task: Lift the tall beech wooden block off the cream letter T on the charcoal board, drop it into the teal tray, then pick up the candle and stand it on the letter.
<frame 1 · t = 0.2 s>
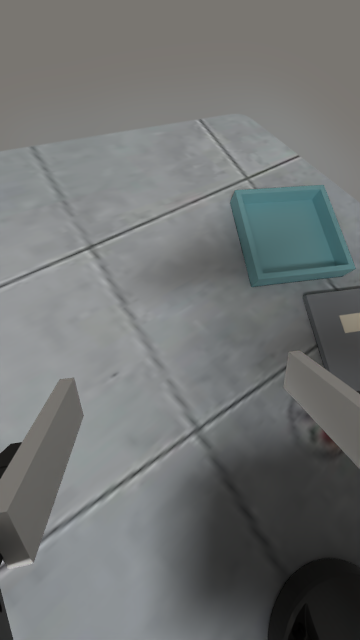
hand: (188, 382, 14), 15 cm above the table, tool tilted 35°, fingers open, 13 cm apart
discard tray: (284, 238, 36), on the table
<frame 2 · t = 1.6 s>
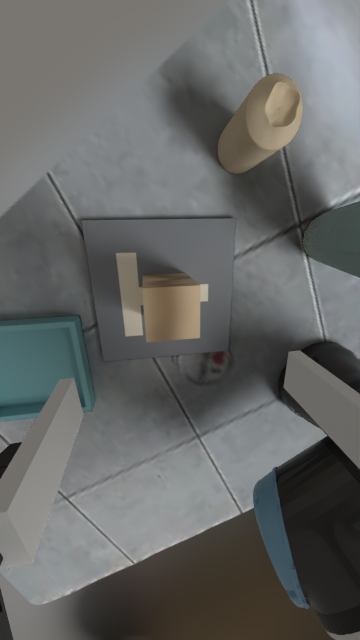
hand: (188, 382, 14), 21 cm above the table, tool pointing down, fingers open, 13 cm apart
wooden block: (165, 295, 32), point 1 cm above the table, touching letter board
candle: (237, 150, 28), on the table
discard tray: (36, 365, 34), on the table
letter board: (165, 293, 33), on the table
disposable coffee cup: (320, 239, 34), on the table
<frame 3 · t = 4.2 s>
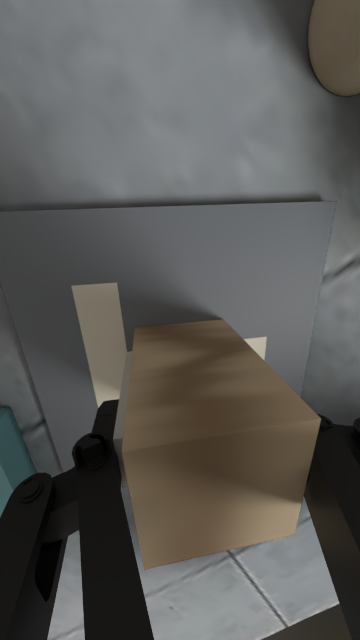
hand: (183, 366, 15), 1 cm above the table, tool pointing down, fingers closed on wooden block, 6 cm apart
wooden block: (182, 362, 16), point 1 cm above the table, touching gripper, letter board
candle: (351, 33, 12), on the table
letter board: (180, 356, 17), on the table
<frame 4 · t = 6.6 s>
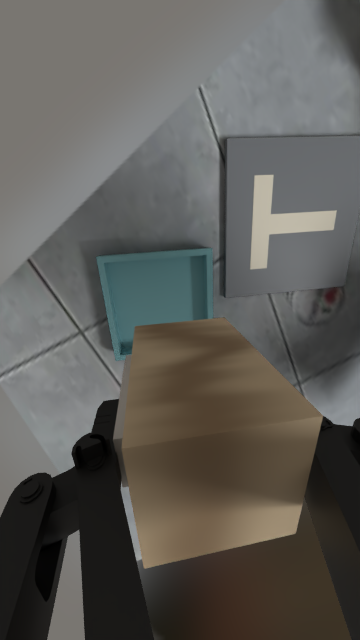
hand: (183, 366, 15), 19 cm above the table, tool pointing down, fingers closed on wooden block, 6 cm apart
wooden block: (182, 360, 16), point 19 cm above the table, touching gripper
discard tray: (160, 303, 34), on the table
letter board: (291, 223, 32), on the table
when the fingers open (3 cm above the table, at t = 9.5 s): wooden block drops 2 cm, resting on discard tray.
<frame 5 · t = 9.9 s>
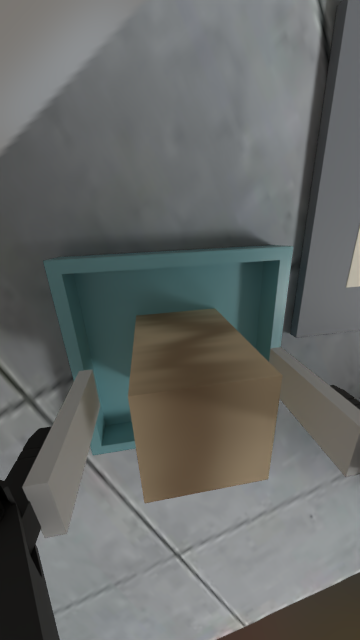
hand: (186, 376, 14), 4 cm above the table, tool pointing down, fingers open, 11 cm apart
wooden block: (178, 347, 18), resting on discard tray
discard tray: (177, 346, 18), on the table
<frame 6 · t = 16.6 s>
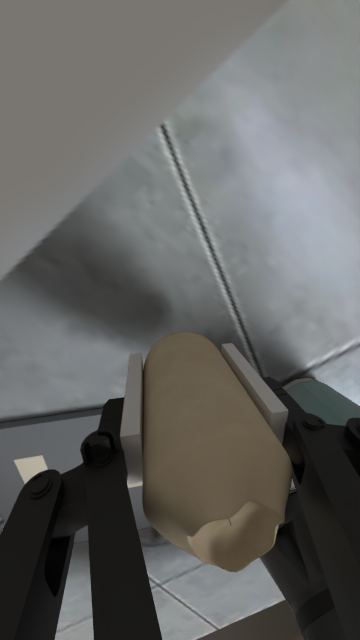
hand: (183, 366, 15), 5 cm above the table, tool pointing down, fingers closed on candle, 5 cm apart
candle: (182, 364, 16), point 5 cm above the table, touching gripper
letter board: (94, 479, 25), on the table
disposable coffee cup: (295, 400, 26), on the table
when the fingers open (2 cm above the table, at t = 21.4 s): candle stays where it is, resting on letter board.
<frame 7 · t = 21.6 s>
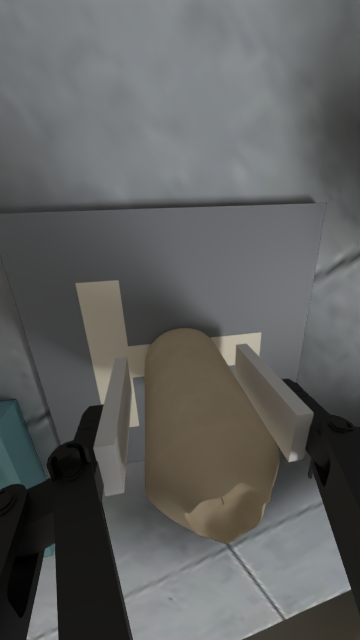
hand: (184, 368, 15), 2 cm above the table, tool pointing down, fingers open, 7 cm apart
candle: (181, 358, 17), point 1 cm above the table, touching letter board
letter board: (178, 351, 17), on the table
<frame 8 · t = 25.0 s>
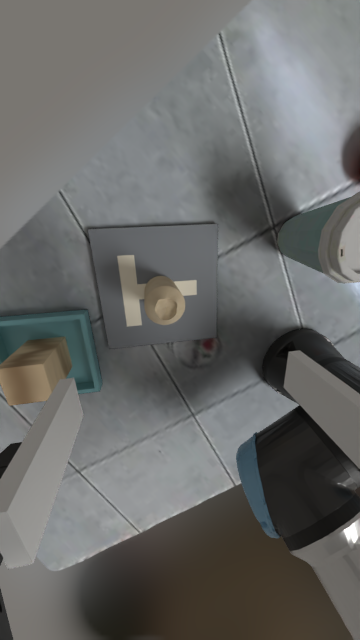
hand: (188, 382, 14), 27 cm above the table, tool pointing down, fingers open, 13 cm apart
wooden block: (51, 353, 39), resting on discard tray
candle: (160, 291, 38), point 1 cm above the table, touching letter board
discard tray: (51, 353, 39), on the table
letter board: (159, 289, 38), on the table
disposable coffee cup: (292, 239, 39), on the table
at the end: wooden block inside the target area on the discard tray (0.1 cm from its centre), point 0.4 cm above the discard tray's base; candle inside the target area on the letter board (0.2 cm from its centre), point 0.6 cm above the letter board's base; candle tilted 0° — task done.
